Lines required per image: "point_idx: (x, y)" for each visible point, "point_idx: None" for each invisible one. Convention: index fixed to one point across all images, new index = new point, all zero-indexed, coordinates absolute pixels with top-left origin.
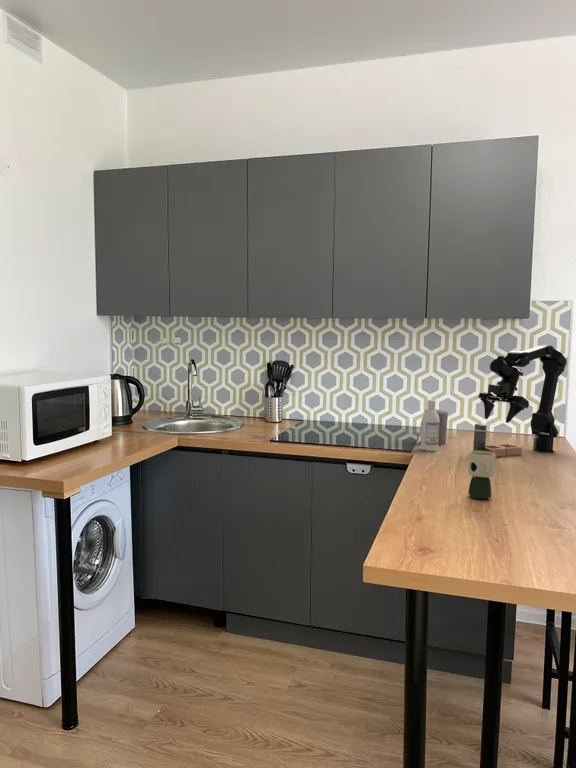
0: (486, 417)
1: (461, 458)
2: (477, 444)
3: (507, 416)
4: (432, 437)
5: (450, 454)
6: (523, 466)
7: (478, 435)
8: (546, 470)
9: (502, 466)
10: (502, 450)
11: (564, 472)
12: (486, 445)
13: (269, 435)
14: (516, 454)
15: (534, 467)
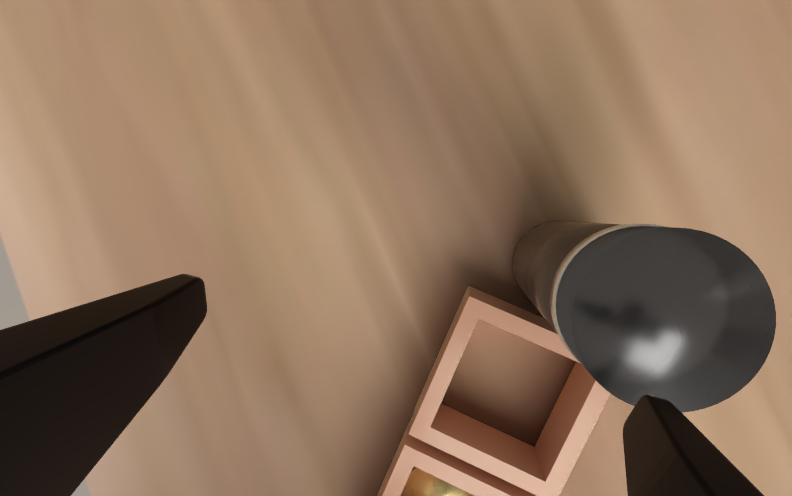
0: (645, 420)
1: (606, 61)
2: (578, 223)
3: (106, 314)
4: None
5: (746, 129)
6: (210, 176)
7: (601, 224)
8: (88, 181)
9: (292, 62)
10: (425, 391)
11: (15, 212)
12: (577, 431)
13: None
14: (378, 492)
15: (159, 204)
